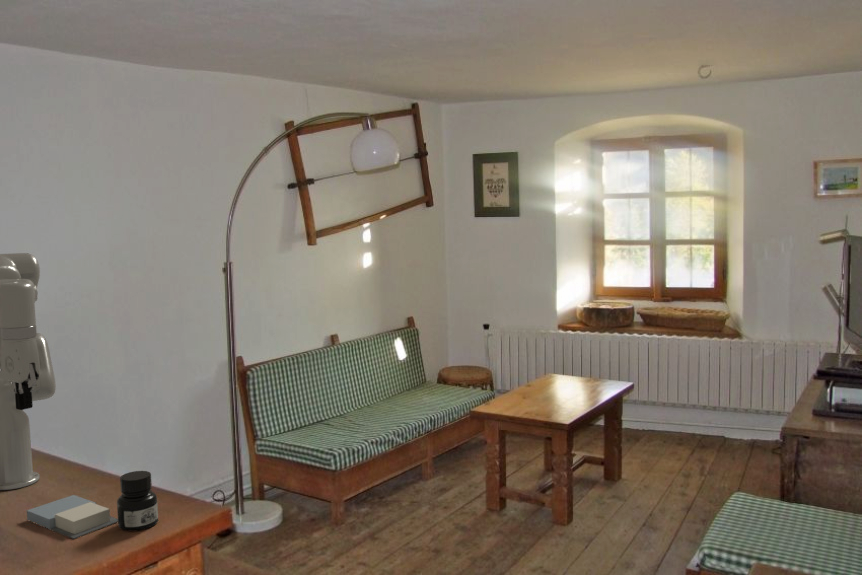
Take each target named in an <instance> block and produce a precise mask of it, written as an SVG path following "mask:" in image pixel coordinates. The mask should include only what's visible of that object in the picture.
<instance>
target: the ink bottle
mask: <svg viewBox="0 0 862 575" xmlns="http://www.w3.org/2000/svg"><path fill="white" fill-rule="evenodd" d="M119 479H120V480H119V481H120V493H121V495H120V496H119V497H118V498H117V499H116V500H117V501H116V508H117V509H116V510H117V512H116V513H117V519H118V523H117V526H118V528H119V529H120V530H122V531H127V532H137V531H143V530H146V529H149V528H151V527H153V526H155V525H157V524H158V522H159V508H158V507H159V506H158V497H157V493H156V492H154V491H152V485H153V484H152V483H153V482H152V474H151V472H150V471H147V470H136V471H135V470H134V471H128V472H126V473H123V475H120V477H119Z"/></svg>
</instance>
